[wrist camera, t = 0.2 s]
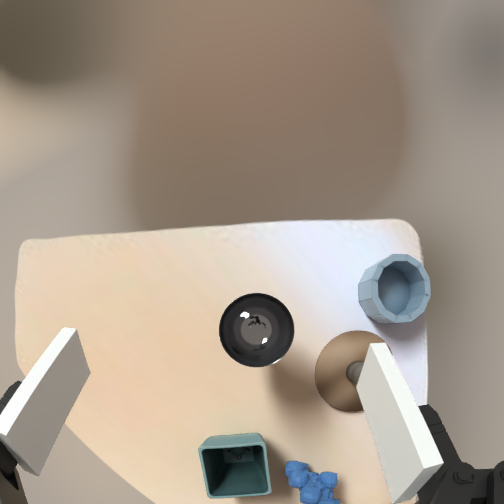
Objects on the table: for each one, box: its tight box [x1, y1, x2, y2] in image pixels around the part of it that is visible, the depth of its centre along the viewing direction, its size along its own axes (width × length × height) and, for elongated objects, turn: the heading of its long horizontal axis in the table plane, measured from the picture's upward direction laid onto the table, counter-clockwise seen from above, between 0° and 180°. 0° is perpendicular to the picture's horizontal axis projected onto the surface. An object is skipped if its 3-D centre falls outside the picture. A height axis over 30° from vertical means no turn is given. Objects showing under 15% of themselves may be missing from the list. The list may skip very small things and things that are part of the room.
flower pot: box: [198, 433, 272, 498], centre depth 39 cm, size 9×9×9 cm
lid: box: [315, 331, 393, 411], centre depth 43 cm, size 13×13×7 cm
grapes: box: [285, 461, 340, 504], centre depth 36 cm, size 12×7×12 cm, turn 40°
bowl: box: [358, 254, 431, 324], centre depth 46 cm, size 10×10×6 cm
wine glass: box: [219, 293, 294, 367], centre depth 40 cm, size 8×8×15 cm
